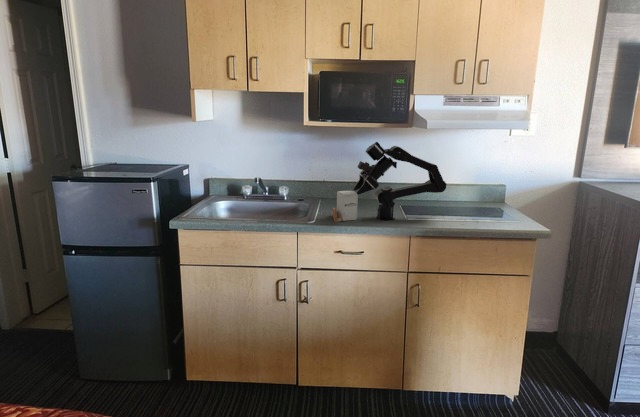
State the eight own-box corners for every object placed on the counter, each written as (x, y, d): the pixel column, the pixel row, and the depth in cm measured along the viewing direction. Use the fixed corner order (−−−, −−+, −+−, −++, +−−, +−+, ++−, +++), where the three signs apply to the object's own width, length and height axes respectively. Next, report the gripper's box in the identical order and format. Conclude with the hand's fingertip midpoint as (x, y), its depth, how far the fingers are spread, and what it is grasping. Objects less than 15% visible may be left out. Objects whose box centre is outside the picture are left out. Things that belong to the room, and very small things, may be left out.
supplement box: (342, 221, 191) (343, 194, 188) (336, 217, 198) (336, 190, 195) (357, 220, 194) (358, 193, 191) (350, 216, 201) (351, 189, 198)
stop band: (338, 215, 201) (338, 207, 200) (341, 221, 191) (341, 213, 190) (332, 215, 201) (332, 207, 200) (334, 221, 191) (335, 213, 190)
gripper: (365, 152, 199) (341, 176, 201) (372, 157, 181) (346, 183, 183) (380, 169, 201) (356, 192, 203) (389, 176, 183) (363, 201, 185)
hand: (355, 191), depth 193 cm, fingers open, 9 cm apart
